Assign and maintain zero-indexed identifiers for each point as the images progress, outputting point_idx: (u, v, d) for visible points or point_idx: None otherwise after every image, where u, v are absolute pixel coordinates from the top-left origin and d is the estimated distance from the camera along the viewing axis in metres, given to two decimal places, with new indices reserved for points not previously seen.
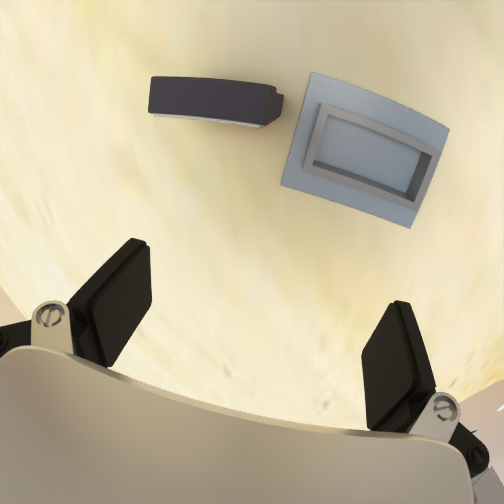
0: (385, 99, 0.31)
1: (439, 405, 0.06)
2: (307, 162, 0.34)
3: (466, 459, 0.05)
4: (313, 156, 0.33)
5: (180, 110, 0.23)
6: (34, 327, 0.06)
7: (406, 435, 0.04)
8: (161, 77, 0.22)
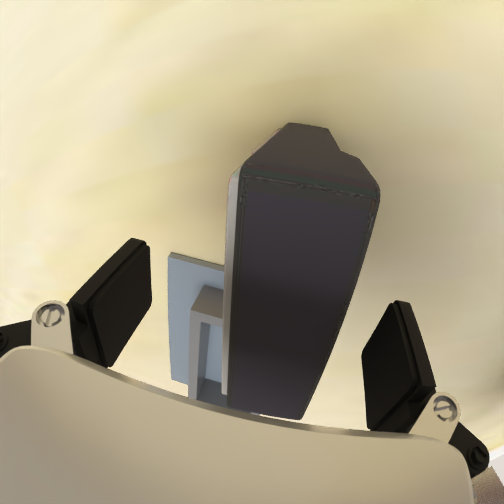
0: None
1: (439, 405, 0.06)
2: (203, 316, 0.24)
3: (466, 459, 0.05)
4: (213, 323, 0.24)
5: (245, 285, 0.09)
6: (34, 327, 0.06)
7: (406, 435, 0.04)
8: (369, 233, 0.07)
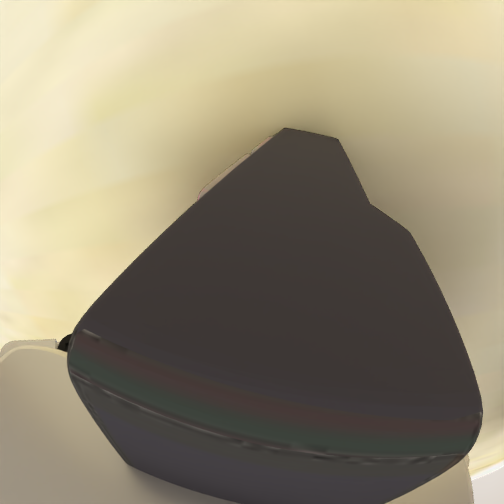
0: None
1: None
2: None
3: None
4: None
5: None
6: None
7: None
8: (413, 487, 0.02)
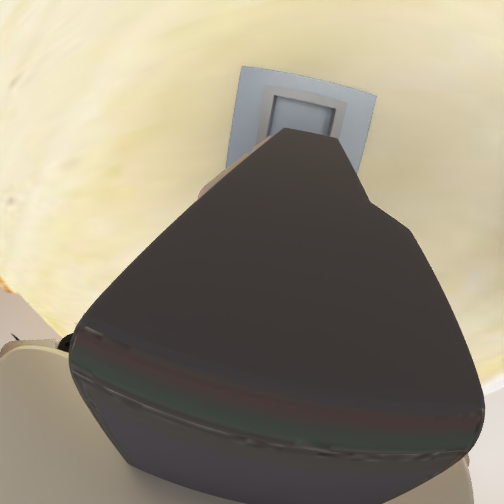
0: (355, 171, 0.34)
1: None
2: (276, 89, 0.27)
3: None
4: (284, 95, 0.27)
5: None
6: None
7: None
8: (415, 484, 0.02)
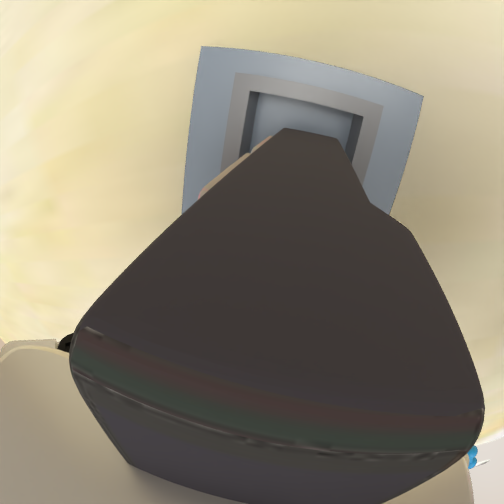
0: None
1: None
2: (254, 80, 0.15)
3: None
4: (269, 90, 0.15)
5: None
6: None
7: None
8: (415, 484, 0.02)
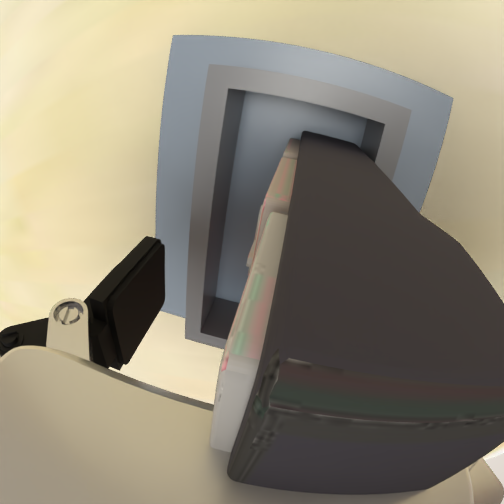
0: None
1: None
2: (234, 74, 0.10)
3: None
4: (255, 87, 0.11)
5: None
6: (52, 325, 0.06)
7: None
8: (490, 449, 0.02)
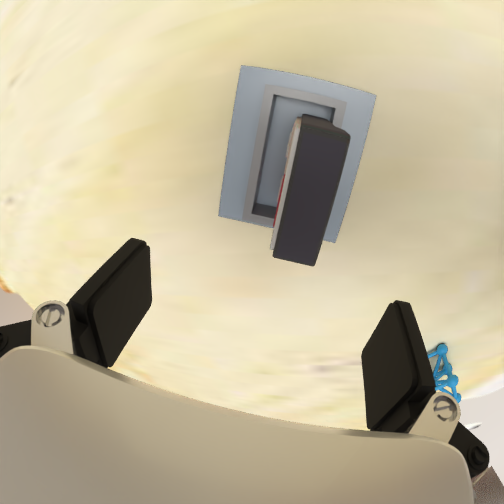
0: (355, 170, 0.33)
1: (439, 405, 0.06)
2: (276, 88, 0.27)
3: (466, 459, 0.05)
4: (284, 94, 0.27)
5: (297, 171, 0.20)
6: (34, 327, 0.06)
7: (406, 435, 0.04)
8: (346, 151, 0.19)
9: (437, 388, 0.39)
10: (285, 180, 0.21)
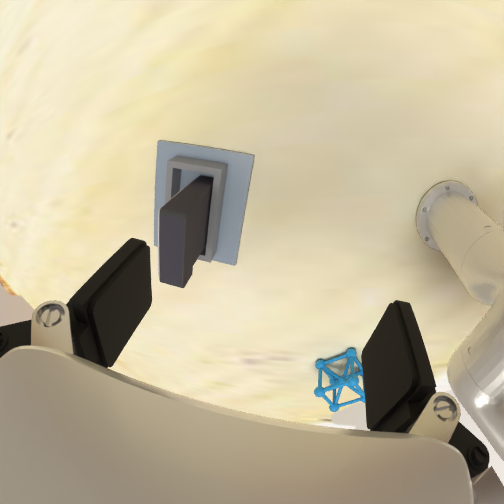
0: (242, 214, 0.48)
1: (439, 405, 0.06)
2: (174, 163, 0.42)
3: (466, 459, 0.05)
4: (179, 167, 0.42)
5: (161, 235, 0.35)
6: (34, 327, 0.06)
7: (406, 435, 0.04)
8: (185, 223, 0.34)
9: (339, 385, 0.54)
10: (158, 239, 0.36)
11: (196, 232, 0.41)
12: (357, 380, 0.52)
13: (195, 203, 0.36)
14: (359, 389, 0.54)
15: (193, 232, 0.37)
